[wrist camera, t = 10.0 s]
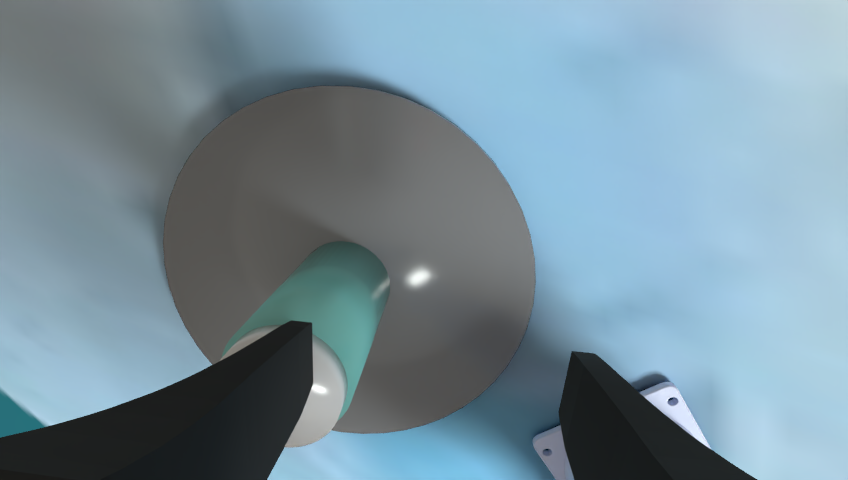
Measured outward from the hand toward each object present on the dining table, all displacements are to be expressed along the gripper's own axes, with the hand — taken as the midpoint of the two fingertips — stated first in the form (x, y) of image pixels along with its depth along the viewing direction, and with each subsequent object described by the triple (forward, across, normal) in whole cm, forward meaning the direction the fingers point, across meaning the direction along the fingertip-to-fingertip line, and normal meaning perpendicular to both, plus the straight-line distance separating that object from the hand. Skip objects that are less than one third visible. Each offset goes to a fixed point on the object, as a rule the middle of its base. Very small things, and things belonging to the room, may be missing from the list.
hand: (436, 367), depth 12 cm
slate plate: (+9, +5, +2) cm, 11 cm away
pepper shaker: (+8, +5, +2) cm, 10 cm away
